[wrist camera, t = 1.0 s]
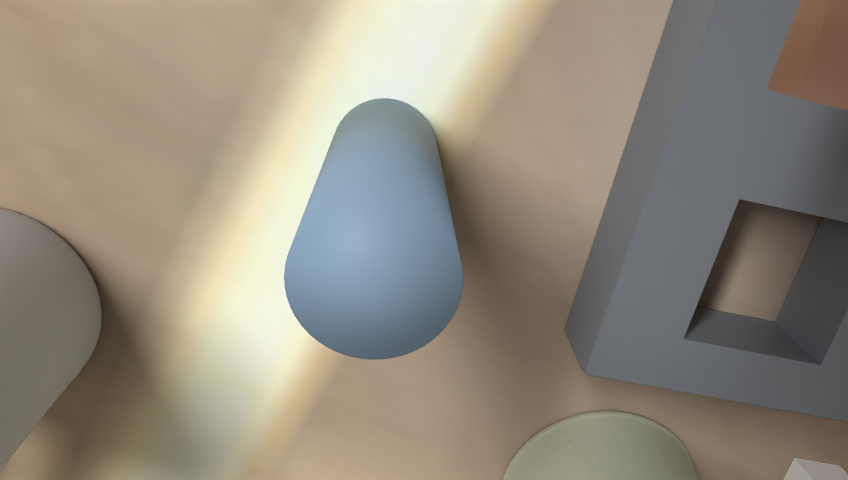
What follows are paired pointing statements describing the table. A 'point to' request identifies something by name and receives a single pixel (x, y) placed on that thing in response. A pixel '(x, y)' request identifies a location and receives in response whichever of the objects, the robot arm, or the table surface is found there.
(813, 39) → the wooden l-bracket
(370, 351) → the peg
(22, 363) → the mug
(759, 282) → the table surface
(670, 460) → the can
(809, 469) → the robot arm
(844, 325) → the socket
